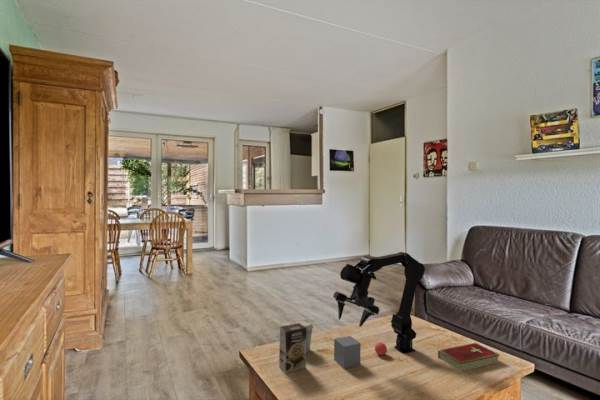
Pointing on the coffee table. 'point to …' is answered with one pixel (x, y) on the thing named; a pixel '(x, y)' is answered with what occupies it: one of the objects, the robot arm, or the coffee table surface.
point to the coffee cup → (309, 332)
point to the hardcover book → (468, 356)
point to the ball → (380, 348)
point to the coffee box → (292, 347)
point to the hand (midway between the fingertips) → (349, 323)
